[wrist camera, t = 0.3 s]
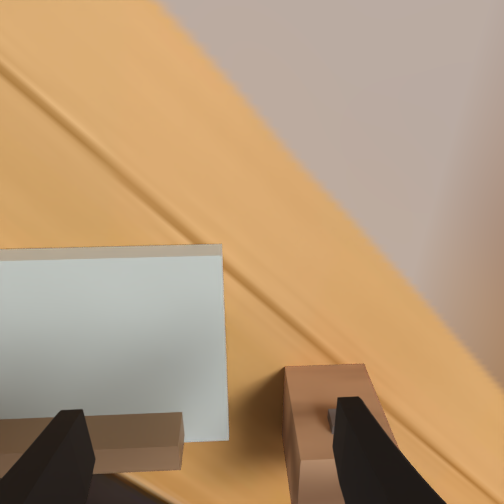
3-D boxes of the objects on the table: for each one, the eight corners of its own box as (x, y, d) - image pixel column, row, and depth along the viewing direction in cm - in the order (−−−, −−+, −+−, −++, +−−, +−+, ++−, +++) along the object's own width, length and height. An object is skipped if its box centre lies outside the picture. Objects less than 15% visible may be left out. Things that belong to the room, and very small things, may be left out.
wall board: (229, 423, 26) (229, 475, 23) (-1, 433, 25) (-32, 487, 22) (221, 244, 20) (220, 280, 17) (-71, 251, 20) (-125, 289, 17)
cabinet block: (353, 431, 27) (384, 530, 21) (281, 434, 27) (295, 534, 21) (364, 355, 24) (403, 447, 19) (285, 358, 24) (301, 451, 19)
